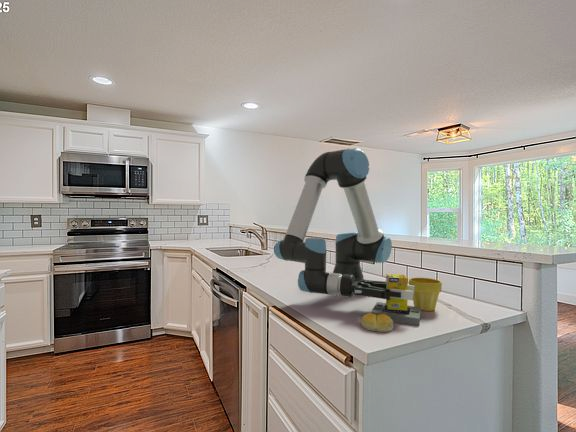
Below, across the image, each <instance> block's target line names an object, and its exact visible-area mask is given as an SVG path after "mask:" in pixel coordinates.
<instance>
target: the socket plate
mask: <svg viewBox="0 0 576 432" xmlns="http://www.w3.org/2000/svg"><path fill="white" fill-rule="evenodd" d="M370 313H374V314H376V315H379V314H386V315H388V316H389V317H390V318H391V319H392V320H393V323H402V324H408V325H412V326H413V325H415V326H420V323H421V314H422V310H421V307H414V305H413V306H412V305H407V313H401V312H399V313H398V312H388V310H387V308H386V302H381V301H377V302H376V303H375V305H374V306H373V308H372V309H371V311H370Z"/></svg>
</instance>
